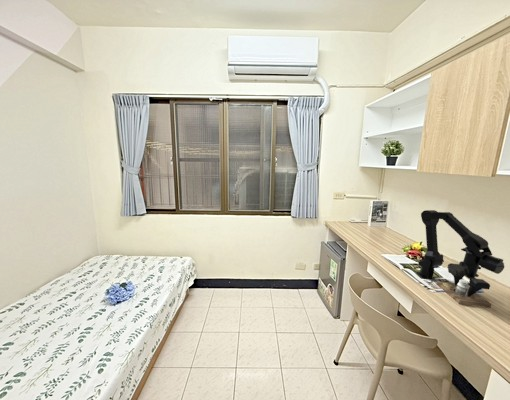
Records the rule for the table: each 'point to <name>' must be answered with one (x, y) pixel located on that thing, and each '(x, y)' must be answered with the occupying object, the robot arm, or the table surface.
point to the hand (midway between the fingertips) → (462, 290)
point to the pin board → (469, 300)
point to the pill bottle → (462, 288)
